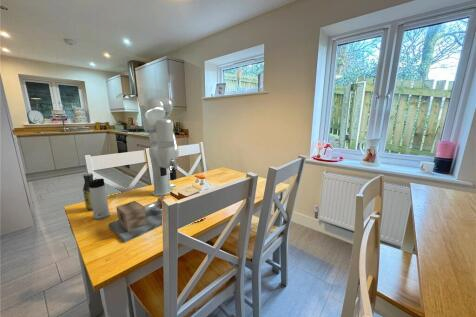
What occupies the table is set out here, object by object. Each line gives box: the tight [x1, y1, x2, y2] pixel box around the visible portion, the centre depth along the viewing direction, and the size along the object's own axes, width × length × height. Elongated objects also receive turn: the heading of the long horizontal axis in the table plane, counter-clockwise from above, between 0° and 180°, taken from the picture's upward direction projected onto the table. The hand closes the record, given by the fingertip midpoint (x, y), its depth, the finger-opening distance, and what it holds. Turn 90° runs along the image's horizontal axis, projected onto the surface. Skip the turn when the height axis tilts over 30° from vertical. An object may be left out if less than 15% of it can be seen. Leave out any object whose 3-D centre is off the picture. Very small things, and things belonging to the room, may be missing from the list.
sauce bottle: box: [82, 172, 94, 212], centre depth 103 cm, size 7×6×20 cm
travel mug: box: [88, 178, 110, 221], centre depth 94 cm, size 6×7×20 cm
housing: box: [107, 200, 163, 243], centre depth 91 cm, size 24×18×10 cm
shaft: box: [143, 196, 167, 212], centre depth 93 cm, size 14×6×6 cm, turn 141°
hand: (168, 177), depth 99 cm, fingers open, 9 cm apart
